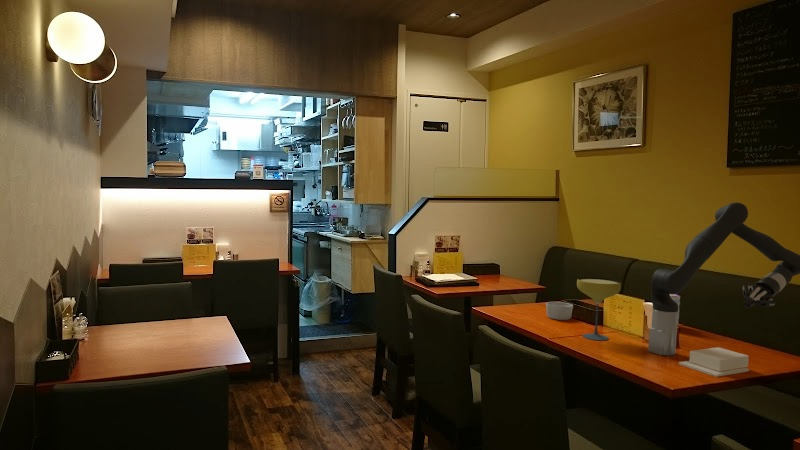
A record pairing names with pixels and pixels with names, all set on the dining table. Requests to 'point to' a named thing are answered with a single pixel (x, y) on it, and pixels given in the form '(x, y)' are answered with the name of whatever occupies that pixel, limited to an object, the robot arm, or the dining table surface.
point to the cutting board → (712, 372)
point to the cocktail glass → (598, 296)
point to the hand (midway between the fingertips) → (745, 305)
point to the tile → (719, 359)
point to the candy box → (677, 300)
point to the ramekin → (559, 310)
